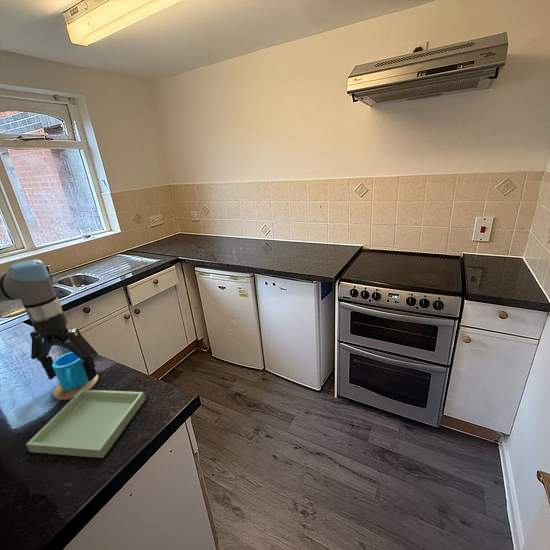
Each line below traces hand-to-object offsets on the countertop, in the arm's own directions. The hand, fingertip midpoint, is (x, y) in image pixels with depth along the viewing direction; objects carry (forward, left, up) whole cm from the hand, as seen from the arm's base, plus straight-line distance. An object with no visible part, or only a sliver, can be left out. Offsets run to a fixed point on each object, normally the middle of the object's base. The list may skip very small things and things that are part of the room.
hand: (73, 377), depth 90 cm
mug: (0, 0, -3) cm, 3 cm away
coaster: (0, 0, -3) cm, 3 cm away
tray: (+16, -13, -3) cm, 21 cm away
